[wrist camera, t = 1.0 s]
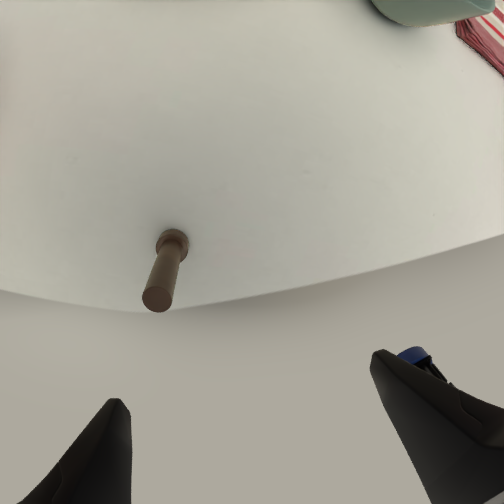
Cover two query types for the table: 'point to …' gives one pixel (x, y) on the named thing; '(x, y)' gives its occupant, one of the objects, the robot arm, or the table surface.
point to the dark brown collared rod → (165, 270)
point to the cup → (433, 11)
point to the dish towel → (486, 35)
